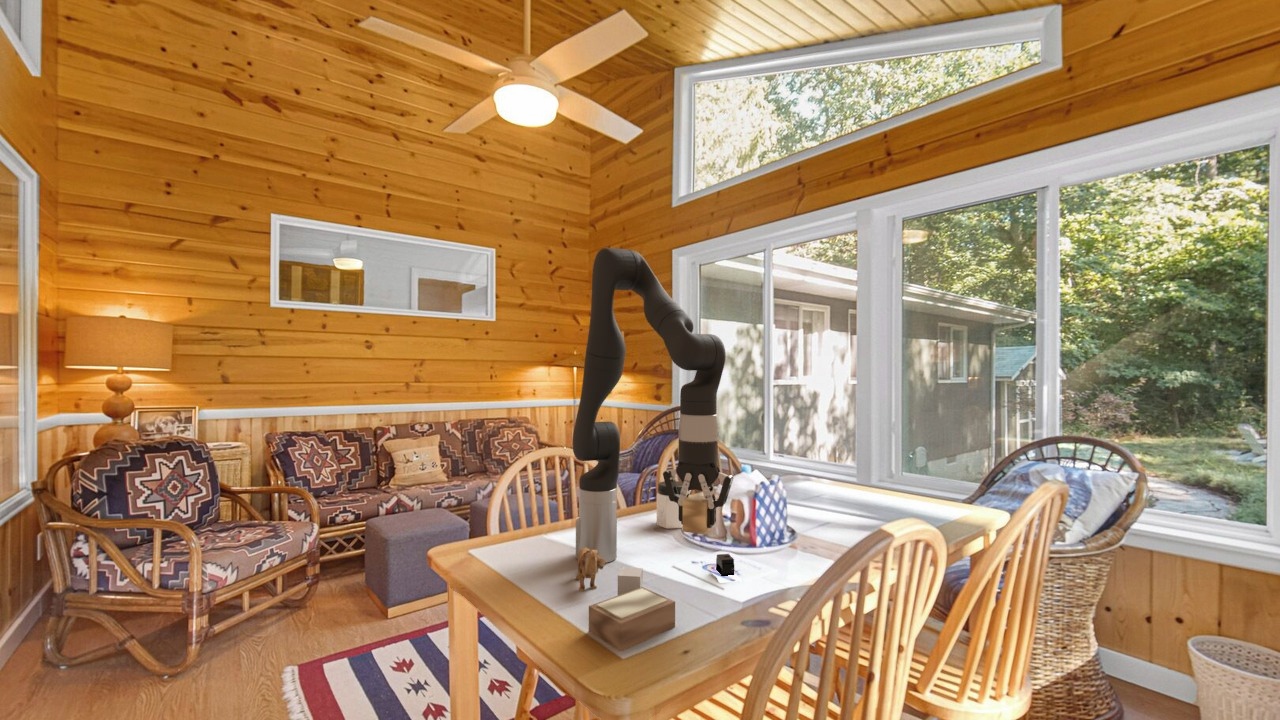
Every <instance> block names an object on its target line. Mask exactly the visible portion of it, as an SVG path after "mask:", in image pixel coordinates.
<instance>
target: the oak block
mask: <svg viewBox="0 0 1280 720" xmlns="http://www.w3.org/2000/svg"><path fill="white" fill-rule="evenodd" d="M707 509H708V505H707V501H706V498H705V497H704V495H695V494H694V495H692V494H689V496H688V497H686V499H684V500H683V527H682V528H681V529H682V530H681V531H682V532H683V533H691V534H700V535H707V533H708V532H709V531H710V530H711V529H712V527H711V528H707Z"/></svg>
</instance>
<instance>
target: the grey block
mask: <svg viewBox="0 0 1280 720" xmlns="http://www.w3.org/2000/svg"><path fill="white" fill-rule="evenodd" d="M643 571H644V570H643V568H641V567H623V566H622V567H620V569H619V571H618V574H617V596H618V595H621V594H624V593H627V592H630V591H632V590H635V589H638V588H641V587H643V582H644V581H643V578H644V573H643Z"/></svg>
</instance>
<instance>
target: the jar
mask: <svg viewBox="0 0 1280 720" xmlns="http://www.w3.org/2000/svg"><path fill="white" fill-rule="evenodd" d="M675 483H676V487H677V490H678V494H679V495H680V492H681V489H682V486H683V482H682V481H677V480H675ZM657 485H658V486H657V490H658V491H657V493H656V526H659V527H662V528H664V529H666V530H667V529H682V526H683V525H682V524H681V521H679V506H678V504H677V503H676V502H674V501H670V500H669V496H668V492H667V488H666V485H665V481H664V480H663V481H659V482H658V483H657Z"/></svg>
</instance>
